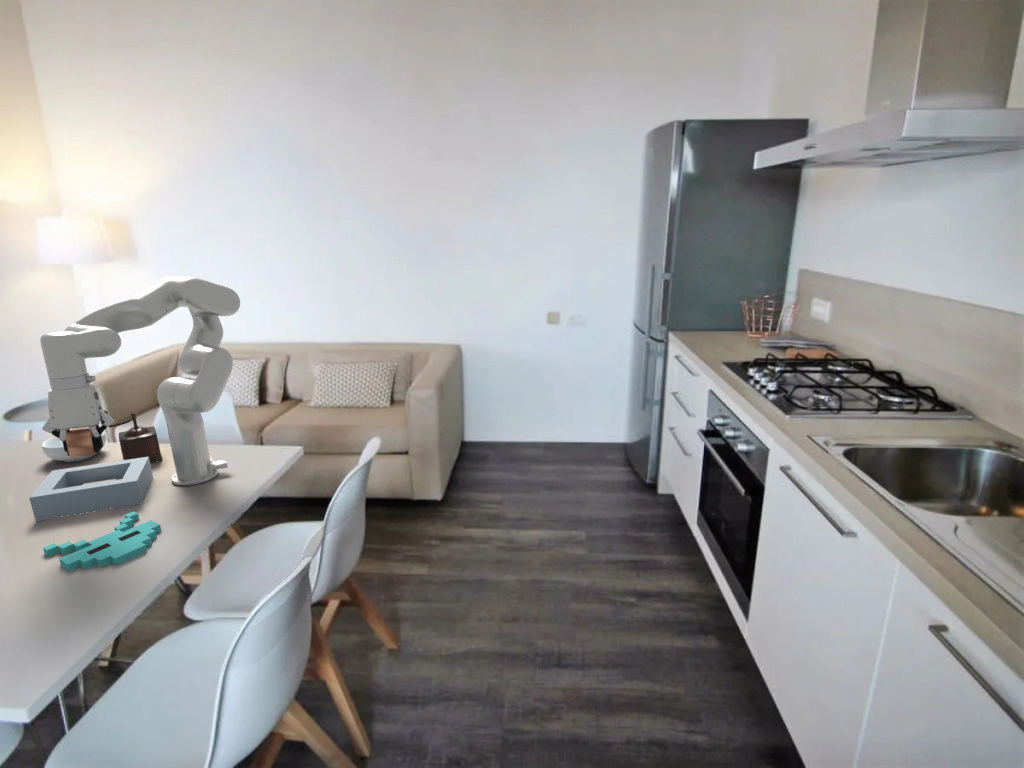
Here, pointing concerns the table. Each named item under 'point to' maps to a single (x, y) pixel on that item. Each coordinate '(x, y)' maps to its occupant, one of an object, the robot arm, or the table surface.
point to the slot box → (92, 488)
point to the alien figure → (108, 545)
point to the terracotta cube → (80, 442)
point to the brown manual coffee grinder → (138, 441)
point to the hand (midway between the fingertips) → (84, 451)
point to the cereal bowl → (62, 449)
